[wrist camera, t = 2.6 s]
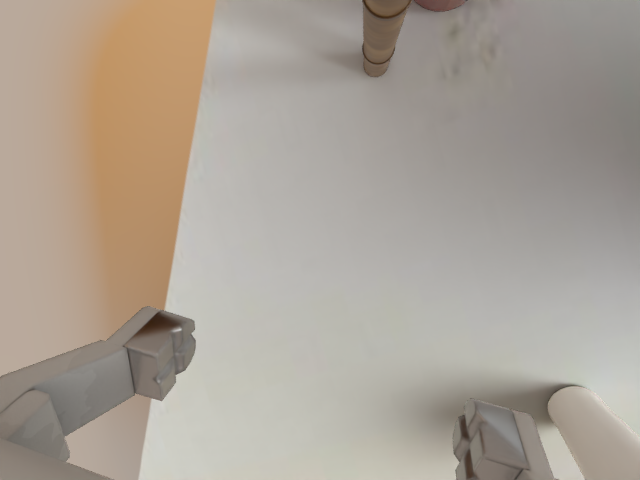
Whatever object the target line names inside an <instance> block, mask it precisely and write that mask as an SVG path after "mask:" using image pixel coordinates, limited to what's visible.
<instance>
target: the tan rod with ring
mask: <svg viewBox="0 0 640 480" xmlns="http://www.w3.org/2000/svg"><path fill="white" fill-rule="evenodd" d="M411 2H412V0H362V3H363V46H362V51H363V55H364V69H365V71H366V73H367V74H368V75H370V76H372V77H379V76H381V75H383V74H384V73H385V72H386V70H387V68H388V65H389V62H390V59H391V57H392V56H393V54H394V51H395V44H396V41H397V38H398V35H399V32H400V29H401V26H402V23H403V20H404V18H405V15H406V12H407V9H408V8H409V6H410V4H411Z"/></svg>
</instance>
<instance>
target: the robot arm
mask: <svg viewBox="0 0 640 480" xmlns="http://www.w3.org/2000/svg"><path fill="white" fill-rule="evenodd" d="M194 330H195V323H194V320H192V319H189V318H186V317H183V316H179V315H176V314H173V313H170V312H167V311H163V310H159V309H156V308H153V307H150V306H147V307H144V308H142V309H141V310H140V311H139V312H137V313H136V314H135V315H134V316H133V317H132V318H131V319H130V320H129V321H127V322H126V323H125V324H124V325H123V326H122V327H121V328H120V329H118V330H117V331H116V332H115V333H114V334H113V335H112V336H111V337H110V338H108V339H107V340H106V341H102V340H100V341H97V342H94V343H91V344H88V345H86V346H83V347H80V348H77V349H75V350H72V351H69V352H66V353H64V354H61V355H58V356H55V357H53V358H50V359H47V360H44V361H41V362H39V363H36V364H33V365H30V366H28V367H25V368H22V369H19V370H17V371H14V372H11V373H8V374H6V375H3V376H1V377H0V480H114V479H111V478H108V477H105V476H102V475H100V474H96V473H94V472H92V471H89V470H86V469H84V468H81V467H78V466H75V465H73V464H70V463H67V462H66V461H67V460H68V458H69V457H70V451H69V448H68V445H67V442H66V440H65V436H67V435H68V434H70V433H72V432H73V431H75V430H77V429H78V428H80V427H82V426H83V425H85V424H87V423H88V422H90V421H92V420H94V419H95V418H97V417H99V416H100V415H102V414H104V413H105V412H107V411H109V410H110V409H112V408H114V407H116V406H117V405H119V404H121V403H122V402H124V401H126V400H127V399H129V398H131V397H132V396H134V395H135V393H136V394H139V395H143V396H146V397H150V398H153V399H156V400H160V401H162V400H163V399H164V398H165V396H166V395H167V394H168V392H169V391H170V390H171V388H172V387H173V386H174V384H175V383H176V375H177V374H179V373H181V372H183V371H185V370H186V368H187V367H188V365H189V364H190V362H191V360H192V358H193V355H194V353H195V348H196V340H195V339H194V337H193V336H192V332H193V331H194ZM464 410H465V415H462V416H460V417H458V420H457V422H456V424H455V428H454V433H453V452H454V455H455V456H456V458H457V459H458V461H459V462H460V463H459V465H458V466H457V468H456V470H455V471H456V480H558V479H555V478H554V477H553V474H552V471H551V468H550V465H549V462H548V459H547V457H546V454H545V451H544V448H543V445H542V442H541V439H540V436H539V434H538V431H537V428H536V425H535V422H534V419H533V418H532V416H531V415H530V414H527V413H523V412H519V411H516V410H512V409H508V408H505V407H502V406H498V405H494V404H491V403H487V402H483V401H480V400H476V399H472V398H470V399H469V400H467V402H466V404H465V406H464Z"/></svg>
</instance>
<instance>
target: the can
mask: <svg viewBox="0 0 640 480" xmlns="http://www.w3.org/2000/svg"><path fill="white" fill-rule="evenodd" d="M414 1H415V2H417V3H418V4H419V5H420V6H422V7H423V8H426V9H428V10H431V11H448V10H452V9H455V8H457V7H459V6H461V5H462V4H464V3H465V2H466V1H468V0H414Z"/></svg>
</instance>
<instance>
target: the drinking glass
mask: <svg viewBox="0 0 640 480" xmlns="http://www.w3.org/2000/svg"><path fill="white" fill-rule="evenodd" d="M548 413H549V416H550V418H551V420H552V421H553V423H554V424H555V426H556V427H557V429H558V430H559V432H560V434H561V436H562V438H563V440H564V441H565V443H566V445H567V447H568V449H569V451H570V452H571V454H572V456H573V458H574V460H575V462H576V464H577V465H578V467H579V469H580V471H581V473H582V475H583V477H584V479H585V480H640V436H639V435H638V434H637V433H635V432H634V431H633V430H632V429H631V428H630V427H629V426H628V425H627V424H626V423H625V422H624V421H623V420H622V419H621V418H620V417H618V416H617V415H616V414H615V413H614V412H613V411H612V410H611V409H610V408H609V407H608V406H607V405H606V404H605V403H604V402H603V401H602V399H601V398H600V397H599V396H598V395H597V394H596V393H594V392H593V391H591V390H589V389H587V388H584V387H580V386H570V387H565V388H563V389H560V390H558V391H557V392H556V393H554V394H553V395H552V397H551V398H550V400H549V402H548Z"/></svg>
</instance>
